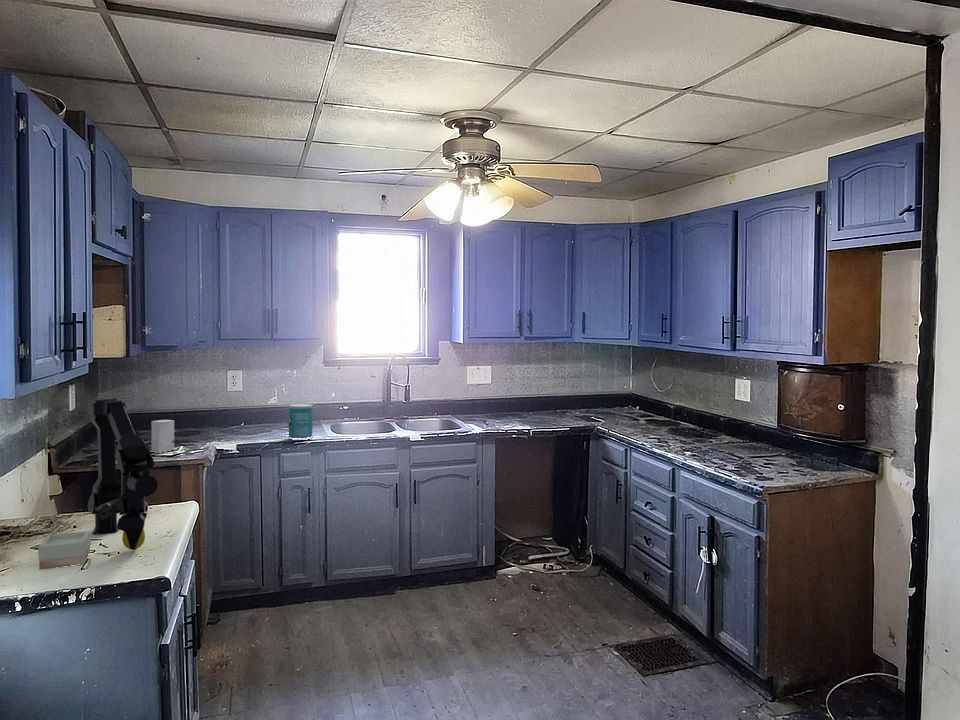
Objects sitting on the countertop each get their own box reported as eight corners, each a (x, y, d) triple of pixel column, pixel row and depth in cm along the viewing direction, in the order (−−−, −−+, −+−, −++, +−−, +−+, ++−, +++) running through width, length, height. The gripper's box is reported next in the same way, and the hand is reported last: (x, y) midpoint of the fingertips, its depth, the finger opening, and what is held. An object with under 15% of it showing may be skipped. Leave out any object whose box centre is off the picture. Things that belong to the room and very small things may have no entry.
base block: (47, 558, 182) (46, 547, 182) (89, 553, 186) (89, 543, 186) (39, 571, 173) (39, 560, 173) (84, 566, 177) (84, 555, 177)
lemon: (118, 551, 187) (118, 522, 186) (139, 546, 191) (138, 518, 191) (128, 555, 184) (128, 526, 183) (148, 550, 188) (148, 522, 187)
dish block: (47, 547, 182) (47, 534, 182) (90, 543, 185) (90, 530, 185) (38, 559, 173) (38, 546, 172) (83, 555, 176) (83, 542, 176)
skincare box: (159, 454, 313) (158, 422, 312) (150, 452, 316) (150, 420, 315) (175, 451, 320) (174, 419, 319) (166, 449, 323) (166, 418, 322)
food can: (283, 439, 355) (283, 405, 353) (298, 436, 366) (298, 402, 364) (302, 441, 350) (302, 407, 349) (316, 438, 361) (317, 404, 360)
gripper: (103, 483, 192) (104, 537, 193) (95, 500, 175) (96, 560, 176) (147, 480, 196) (148, 533, 197) (143, 497, 179) (144, 555, 180)
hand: (133, 545), depth 187 cm, fingers open, 6 cm apart
